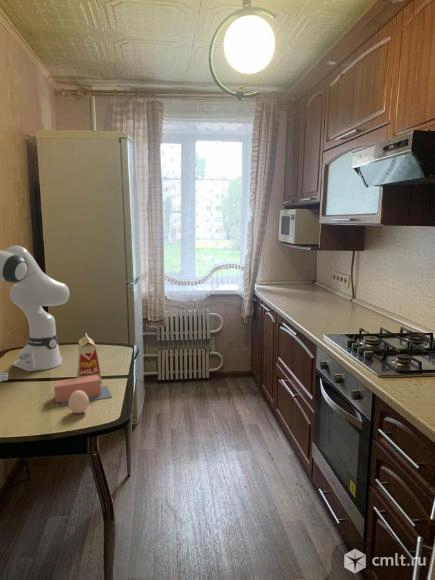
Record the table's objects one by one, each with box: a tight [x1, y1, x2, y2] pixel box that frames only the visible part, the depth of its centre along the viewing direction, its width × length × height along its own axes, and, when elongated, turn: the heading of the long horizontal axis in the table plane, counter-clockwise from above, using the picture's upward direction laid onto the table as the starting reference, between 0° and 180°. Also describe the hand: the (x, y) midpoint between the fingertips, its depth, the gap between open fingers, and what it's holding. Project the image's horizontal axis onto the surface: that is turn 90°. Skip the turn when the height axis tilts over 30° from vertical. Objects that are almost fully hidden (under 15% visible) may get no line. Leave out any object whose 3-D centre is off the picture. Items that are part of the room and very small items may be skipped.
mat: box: [59, 385, 113, 407], centre depth 155 cm, size 18×12×1 cm, turn 113°
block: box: [53, 375, 102, 404], centre depth 154 cm, size 6×6×16 cm
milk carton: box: [76, 332, 103, 383], centre depth 168 cm, size 9×9×20 cm
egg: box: [68, 390, 90, 414], centre depth 141 cm, size 7×7×8 cm
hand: (8, 376), depth 144 cm, fingers closed
